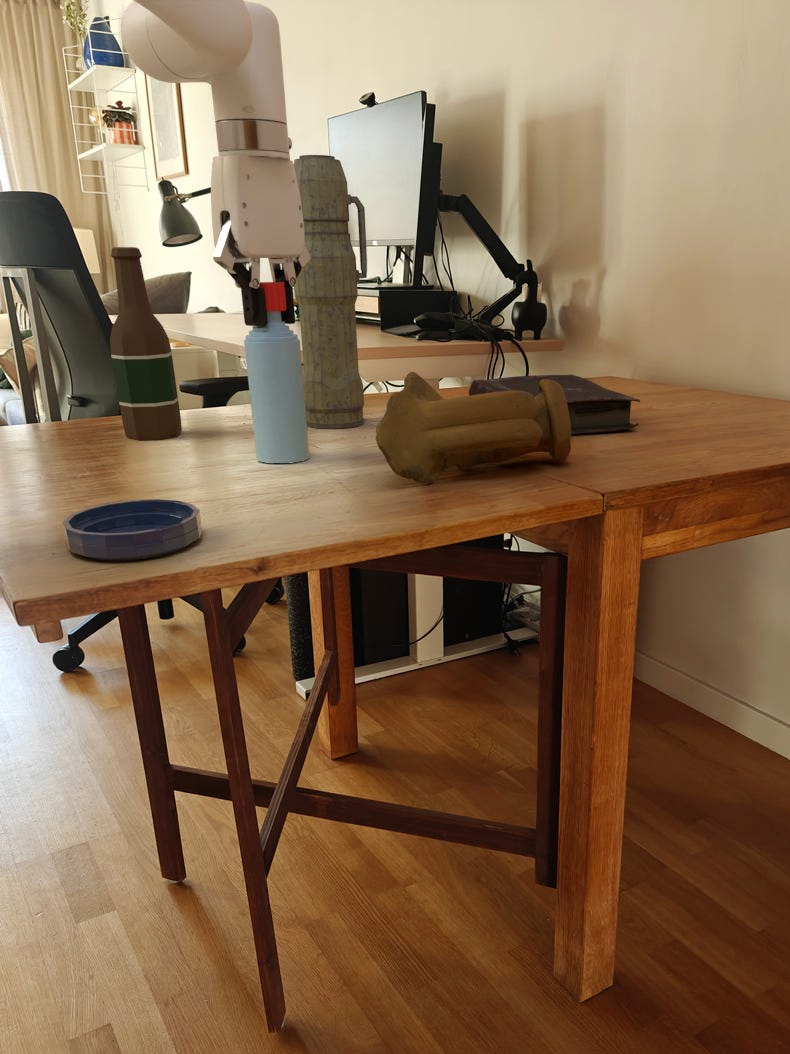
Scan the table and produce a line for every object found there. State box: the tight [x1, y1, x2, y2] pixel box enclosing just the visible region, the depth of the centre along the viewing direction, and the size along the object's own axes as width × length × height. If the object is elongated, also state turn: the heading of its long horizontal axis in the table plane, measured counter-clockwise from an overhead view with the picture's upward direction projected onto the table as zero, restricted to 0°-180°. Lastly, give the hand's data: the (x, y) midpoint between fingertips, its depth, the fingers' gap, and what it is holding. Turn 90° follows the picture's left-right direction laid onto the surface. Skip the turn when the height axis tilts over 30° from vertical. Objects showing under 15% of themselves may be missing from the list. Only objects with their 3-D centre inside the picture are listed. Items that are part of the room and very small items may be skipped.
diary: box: [468, 374, 641, 435], centre depth 130 cm, size 19×25×5 cm
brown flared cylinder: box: [375, 371, 572, 485], centre depth 99 cm, size 18×13×22 cm
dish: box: [61, 498, 203, 562], centre depth 75 cm, size 11×11×2 cm
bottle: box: [243, 311, 310, 463], centre depth 103 cm, size 6×6×20 cm
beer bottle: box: [109, 246, 183, 441], centre depth 116 cm, size 8×8×24 cm
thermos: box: [281, 154, 368, 430], centre depth 122 cm, size 9×12×35 cm
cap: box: [259, 281, 287, 312], centre depth 99 cm, size 4×4×3 cm
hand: (270, 322), depth 100 cm, fingers closed on cap, 3 cm apart
